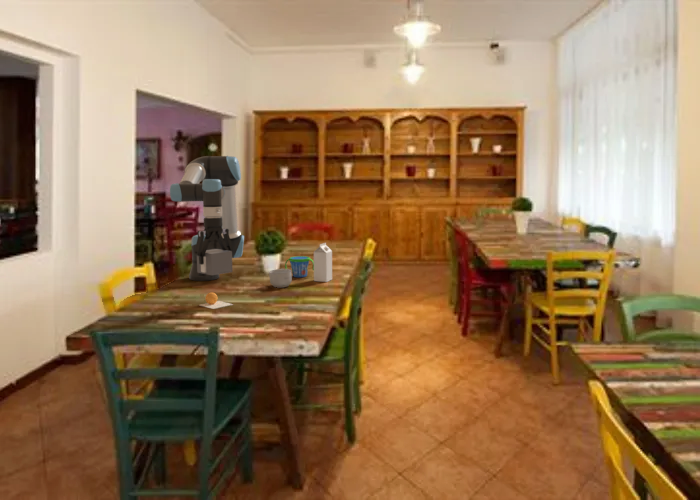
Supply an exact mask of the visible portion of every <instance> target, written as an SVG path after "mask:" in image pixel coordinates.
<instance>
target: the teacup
mask: <svg viewBox="0 0 700 500" xmlns="http://www.w3.org/2000/svg"><path fill="white" fill-rule="evenodd" d="M268 275H269V282H270V285H272V286H273V287H274V288H276V287H277V289H278V288H279V289H280V288H287V287H289V285H290V284H291V283H292V280H293V279H292V278H293V274H292V269H290V268H287V269H285V268H277V269H272V270H269V271H268Z"/></svg>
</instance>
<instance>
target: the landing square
mask: <svg viewBox="0 0 700 500" xmlns="http://www.w3.org/2000/svg"><path fill="white" fill-rule="evenodd" d="M233 305H234V304H232V303H229V302H225V301H221V300H217V302H216V303H214V304H208V303H207V302H206V303H202V304H199V306H200V307H204V308H208V309H210V310H211V309H212V310H215V309H220V308H225V307H229V306H233Z"/></svg>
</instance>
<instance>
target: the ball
mask: <svg viewBox="0 0 700 500" xmlns="http://www.w3.org/2000/svg"><path fill="white" fill-rule="evenodd" d="M204 299H205V302H206V303H208V304H214V303H216V302H217V301H218V295H217V294H216V293H215V292H211V291H210V292H208V293H207V294H206V296H205V298H204Z"/></svg>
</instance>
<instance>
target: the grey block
mask: <svg viewBox="0 0 700 500" xmlns="http://www.w3.org/2000/svg"><path fill="white" fill-rule="evenodd" d="M204 256H205V257H206V273H204V272H201V264H199V256H197V272H198V273H203V274H207V275H218V274H219V275H221V274H229V273H233V258H232V251H228V250H221V249H212V250H206V252H205V255H204Z"/></svg>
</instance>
